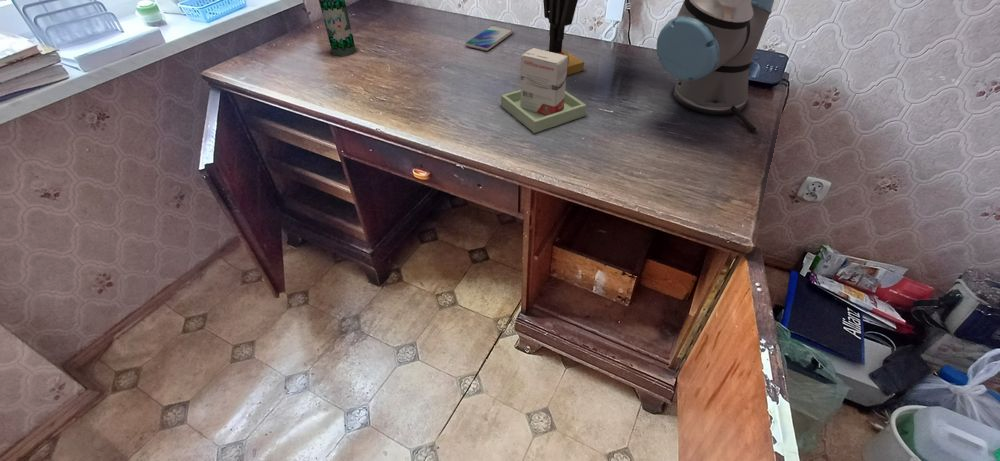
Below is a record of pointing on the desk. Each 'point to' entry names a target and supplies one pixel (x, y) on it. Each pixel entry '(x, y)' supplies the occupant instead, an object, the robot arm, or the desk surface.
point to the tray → (540, 121)
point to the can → (338, 26)
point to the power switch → (573, 63)
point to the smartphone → (489, 38)
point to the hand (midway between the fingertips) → (555, 52)
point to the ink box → (543, 81)
